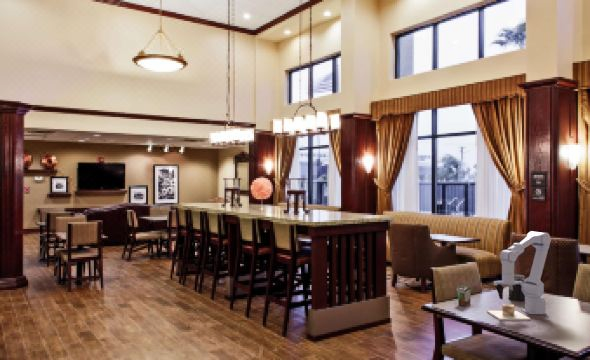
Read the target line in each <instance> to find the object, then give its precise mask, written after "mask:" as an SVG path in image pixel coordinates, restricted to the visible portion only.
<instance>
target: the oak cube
mask: <svg viewBox="0 0 590 360" xmlns="http://www.w3.org/2000/svg"><path fill="white" fill-rule="evenodd" d="M501 307H502V310H501V311H502V315H506V316H512V317H513V316H514V311H515V304H511V303H503V304H502V306H501Z"/></svg>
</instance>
